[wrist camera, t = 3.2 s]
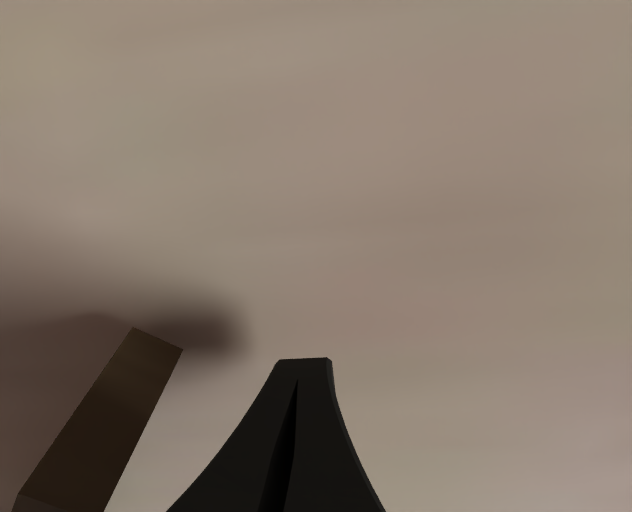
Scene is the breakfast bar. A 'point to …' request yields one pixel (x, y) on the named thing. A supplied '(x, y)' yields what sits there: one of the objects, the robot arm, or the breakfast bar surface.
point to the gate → (101, 430)
